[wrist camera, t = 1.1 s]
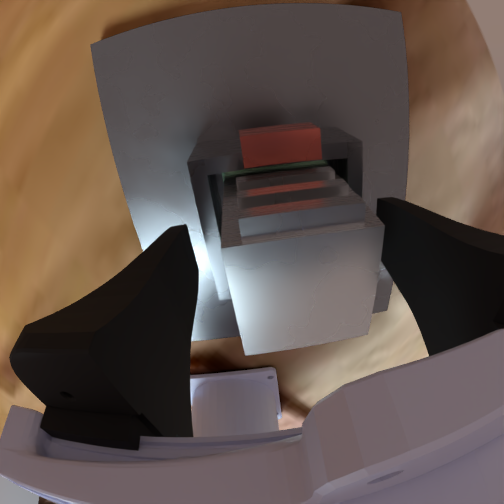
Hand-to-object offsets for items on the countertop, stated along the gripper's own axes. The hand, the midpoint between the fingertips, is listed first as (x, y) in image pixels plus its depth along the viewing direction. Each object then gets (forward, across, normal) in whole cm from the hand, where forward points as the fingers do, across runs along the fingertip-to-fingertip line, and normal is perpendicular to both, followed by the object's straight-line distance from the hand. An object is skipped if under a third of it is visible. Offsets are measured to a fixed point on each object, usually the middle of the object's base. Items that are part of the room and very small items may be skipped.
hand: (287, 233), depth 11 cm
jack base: (+4, 0, 0) cm, 4 cm away
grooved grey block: (+3, 0, 0) cm, 3 cm away
